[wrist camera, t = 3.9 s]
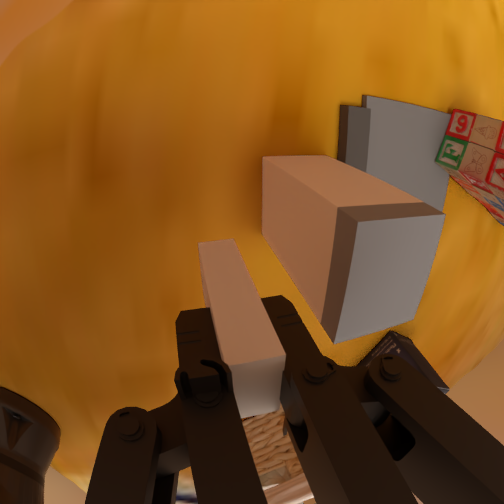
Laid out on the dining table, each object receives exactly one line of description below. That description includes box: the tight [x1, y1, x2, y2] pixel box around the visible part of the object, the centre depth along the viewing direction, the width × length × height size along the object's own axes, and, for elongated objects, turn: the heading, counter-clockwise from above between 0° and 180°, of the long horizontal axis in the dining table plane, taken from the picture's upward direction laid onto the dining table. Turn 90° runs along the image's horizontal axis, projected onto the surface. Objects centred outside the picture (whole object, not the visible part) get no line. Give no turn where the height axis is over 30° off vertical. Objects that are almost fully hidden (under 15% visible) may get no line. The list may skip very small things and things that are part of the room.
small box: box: [356, 331, 449, 394], centre depth 32 cm, size 11×6×10 cm, turn 145°
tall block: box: [262, 155, 446, 344], centre depth 17 cm, size 5×6×12 cm
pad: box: [337, 95, 452, 212], centre depth 24 cm, size 14×16×1 cm
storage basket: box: [242, 403, 317, 504], centre depth 35 cm, size 24×16×15 cm
